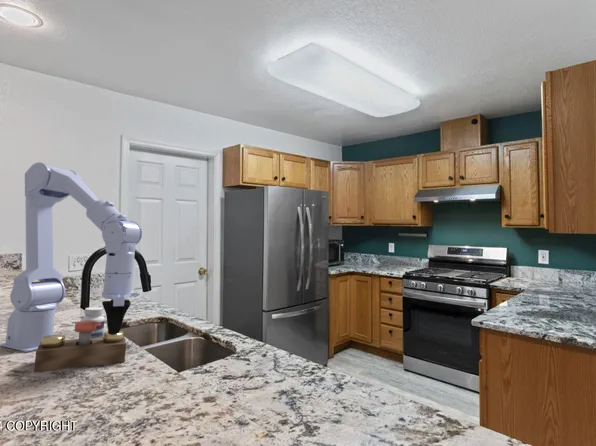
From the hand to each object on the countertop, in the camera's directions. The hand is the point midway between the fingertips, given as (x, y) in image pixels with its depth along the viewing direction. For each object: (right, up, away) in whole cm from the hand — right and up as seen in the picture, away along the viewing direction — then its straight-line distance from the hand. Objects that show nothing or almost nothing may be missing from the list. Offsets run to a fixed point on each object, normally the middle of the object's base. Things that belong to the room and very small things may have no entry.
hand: (113, 333), depth 77 cm
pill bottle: (-11, -6, +10) cm, 16 cm away
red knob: (-5, -2, -3) cm, 6 cm away
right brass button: (0, -5, 0) cm, 5 cm away
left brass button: (-10, -4, -6) cm, 12 cm away
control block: (-5, -5, -3) cm, 8 cm away
